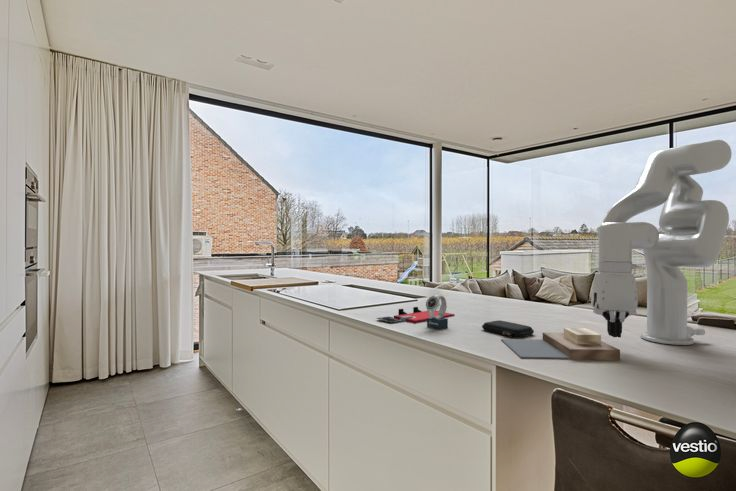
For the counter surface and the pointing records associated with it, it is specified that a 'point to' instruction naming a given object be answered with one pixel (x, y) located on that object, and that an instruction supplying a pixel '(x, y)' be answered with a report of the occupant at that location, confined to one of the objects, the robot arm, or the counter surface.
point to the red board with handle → (413, 316)
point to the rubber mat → (534, 349)
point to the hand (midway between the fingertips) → (614, 336)
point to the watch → (434, 320)
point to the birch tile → (582, 336)
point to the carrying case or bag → (508, 329)
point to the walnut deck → (582, 348)
